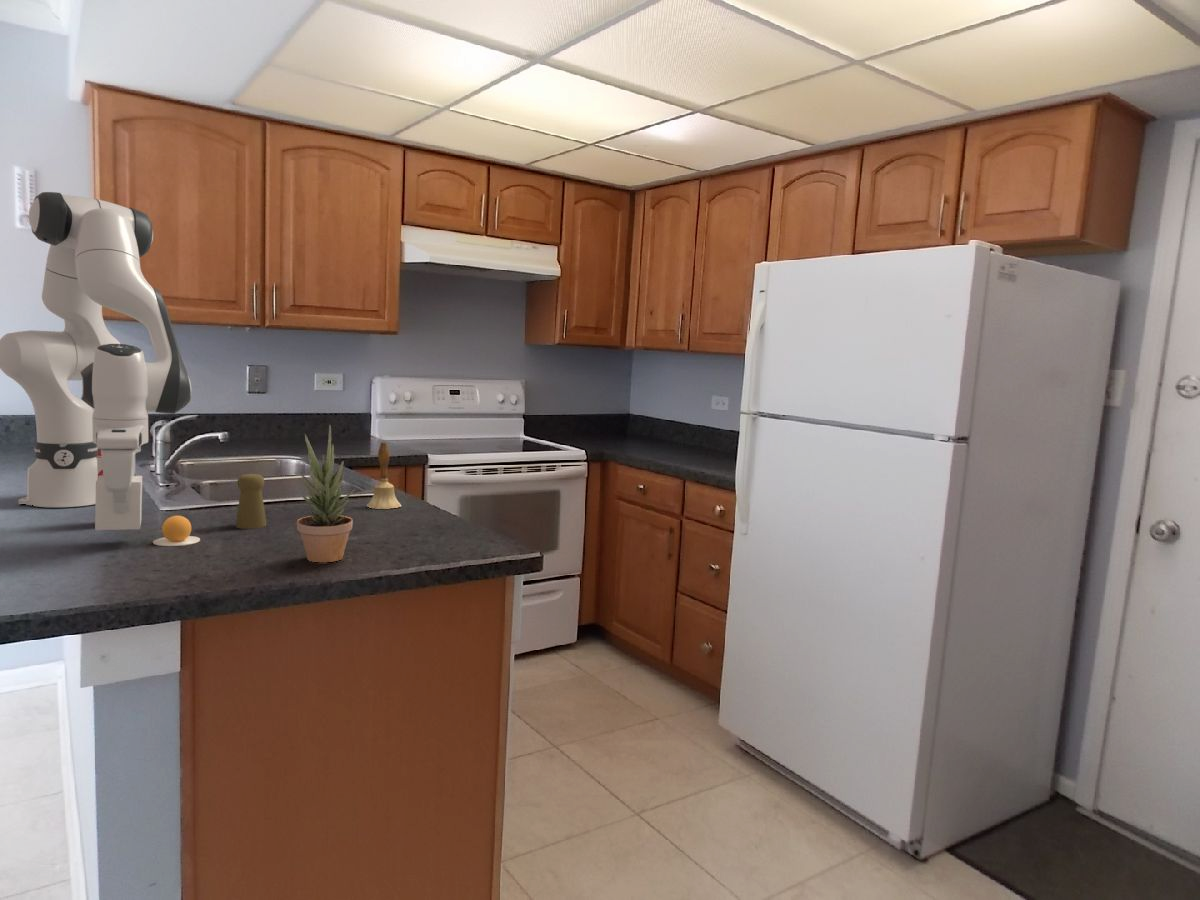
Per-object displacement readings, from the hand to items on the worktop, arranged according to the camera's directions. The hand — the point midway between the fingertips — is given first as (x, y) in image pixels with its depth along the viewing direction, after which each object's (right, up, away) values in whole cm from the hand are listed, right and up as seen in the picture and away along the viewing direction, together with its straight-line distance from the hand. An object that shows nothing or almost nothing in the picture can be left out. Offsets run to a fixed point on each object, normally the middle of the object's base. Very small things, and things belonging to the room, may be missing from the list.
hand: (121, 507), depth 150 cm
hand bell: (+36, -4, +47) cm, 60 cm away
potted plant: (+39, -9, -4) cm, 40 cm away
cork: (+15, -6, +21) cm, 26 cm away
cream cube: (-1, -3, 0) cm, 3 cm away
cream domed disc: (+8, -7, +5) cm, 11 cm away
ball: (+8, -4, +4) cm, 10 cm away
